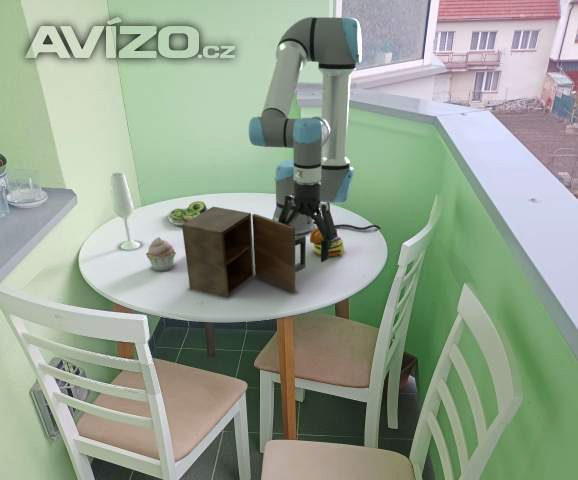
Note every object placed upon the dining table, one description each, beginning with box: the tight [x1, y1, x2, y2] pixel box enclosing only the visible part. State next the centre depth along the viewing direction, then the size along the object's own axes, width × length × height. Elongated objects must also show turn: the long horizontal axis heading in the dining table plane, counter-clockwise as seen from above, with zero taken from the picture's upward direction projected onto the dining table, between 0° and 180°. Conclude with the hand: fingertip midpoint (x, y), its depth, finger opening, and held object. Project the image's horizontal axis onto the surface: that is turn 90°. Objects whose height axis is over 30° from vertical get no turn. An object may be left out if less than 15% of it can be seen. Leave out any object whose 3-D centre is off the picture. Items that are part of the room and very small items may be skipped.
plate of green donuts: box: [167, 200, 210, 228], centre depth 212 cm, size 19×18×5 cm
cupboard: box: [181, 206, 255, 299], centre depth 167 cm, size 13×16×20 cm
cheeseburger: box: [309, 227, 345, 258], centre depth 188 cm, size 10×11×10 cm
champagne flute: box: [109, 172, 141, 251], centre depth 188 cm, size 7×7×24 cm
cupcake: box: [145, 236, 177, 272], centre depth 179 cm, size 9×9×10 cm
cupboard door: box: [251, 213, 307, 294], centre depth 167 cm, size 8×16×20 cm, turn 47°
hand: (306, 254), depth 168 cm, fingers open, 12 cm apart
